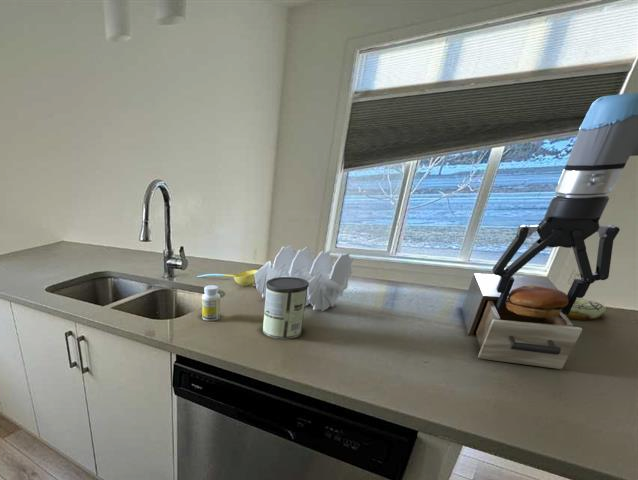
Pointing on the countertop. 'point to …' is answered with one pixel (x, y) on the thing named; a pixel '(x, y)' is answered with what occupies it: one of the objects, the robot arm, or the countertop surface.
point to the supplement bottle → (211, 303)
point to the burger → (536, 301)
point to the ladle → (239, 277)
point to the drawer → (524, 337)
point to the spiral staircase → (309, 274)
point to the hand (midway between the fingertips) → (530, 309)
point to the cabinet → (492, 294)
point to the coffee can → (284, 307)
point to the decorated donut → (586, 310)
